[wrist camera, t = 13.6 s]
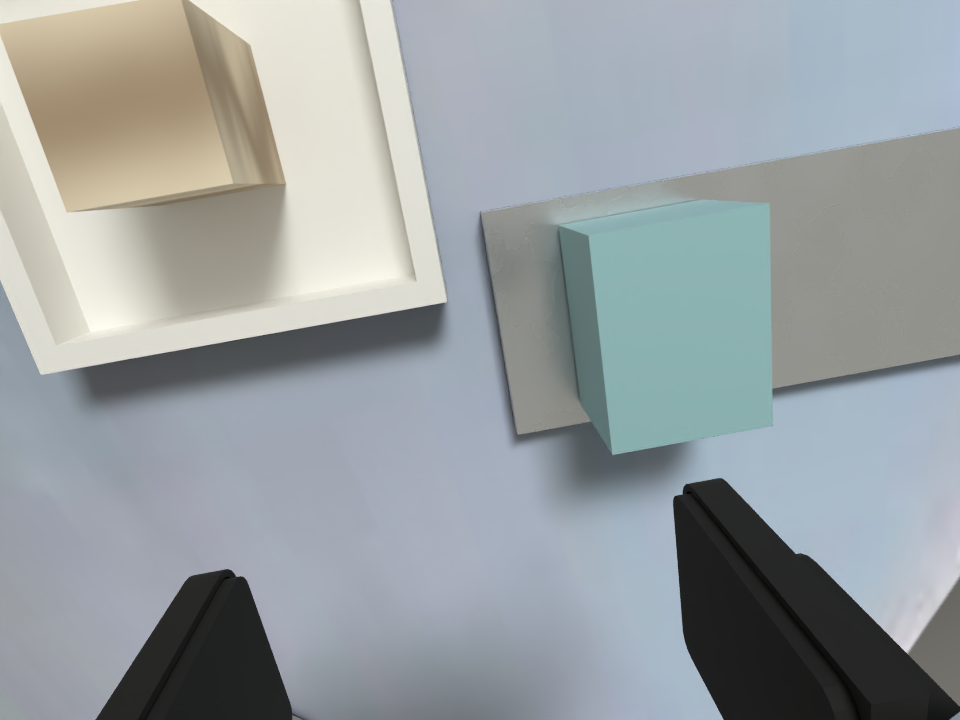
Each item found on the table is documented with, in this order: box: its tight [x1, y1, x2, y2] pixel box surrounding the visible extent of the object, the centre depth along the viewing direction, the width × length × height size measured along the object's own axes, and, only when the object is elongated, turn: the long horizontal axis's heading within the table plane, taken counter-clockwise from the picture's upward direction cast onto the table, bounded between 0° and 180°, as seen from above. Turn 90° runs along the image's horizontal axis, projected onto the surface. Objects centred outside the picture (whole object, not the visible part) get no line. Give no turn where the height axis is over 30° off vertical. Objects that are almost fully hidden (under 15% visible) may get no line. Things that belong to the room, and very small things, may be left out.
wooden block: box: [0, 0, 286, 213], centre depth 19 cm, size 5×5×6 cm
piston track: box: [480, 126, 960, 435], centre depth 24 cm, size 10×28×4 cm, turn 100°
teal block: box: [559, 200, 773, 455], centre depth 22 cm, size 8×6×5 cm
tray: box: [0, 0, 447, 375], centre depth 21 cm, size 16×16×3 cm
